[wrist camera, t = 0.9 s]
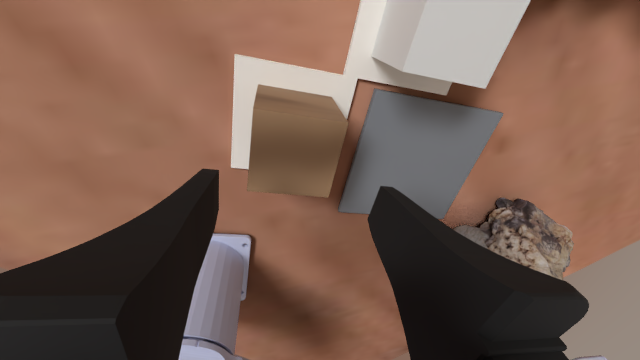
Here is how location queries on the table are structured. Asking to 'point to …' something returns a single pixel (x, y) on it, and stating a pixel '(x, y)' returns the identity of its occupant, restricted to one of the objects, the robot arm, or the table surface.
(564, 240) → the rock
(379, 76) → the code tile
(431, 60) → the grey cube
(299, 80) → the code tile
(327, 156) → the walnut cube
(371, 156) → the slate mat
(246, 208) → the table surface
